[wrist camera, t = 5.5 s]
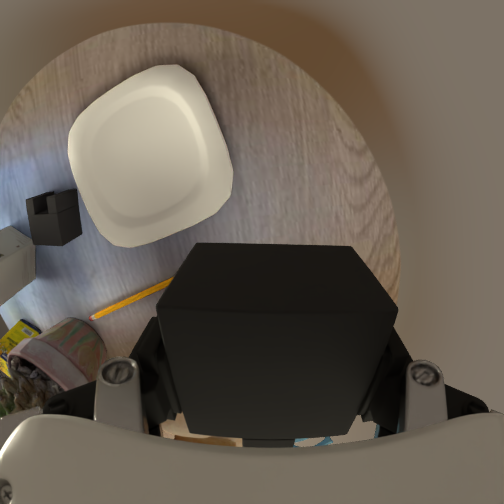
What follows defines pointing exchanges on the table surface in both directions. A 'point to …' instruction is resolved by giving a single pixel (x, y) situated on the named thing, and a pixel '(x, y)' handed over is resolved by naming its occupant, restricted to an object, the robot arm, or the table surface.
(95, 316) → the pencil
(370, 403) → the robot arm
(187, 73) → the plate
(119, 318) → the table surface
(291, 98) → the table surface
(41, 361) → the potted plant
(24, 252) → the white packaging box
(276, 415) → the black rectangular block
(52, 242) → the socket pad
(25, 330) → the supplement box
